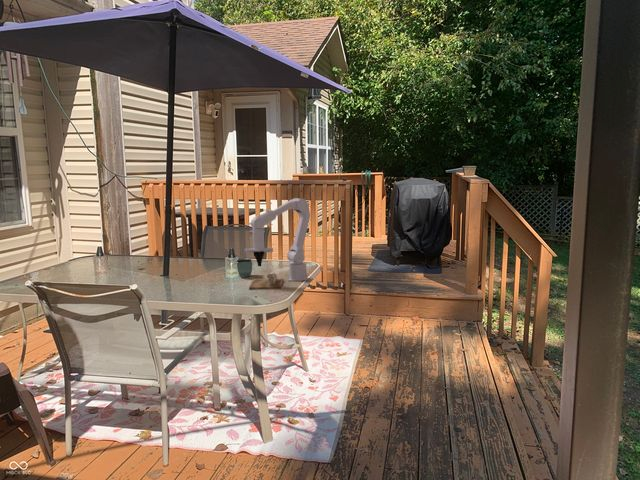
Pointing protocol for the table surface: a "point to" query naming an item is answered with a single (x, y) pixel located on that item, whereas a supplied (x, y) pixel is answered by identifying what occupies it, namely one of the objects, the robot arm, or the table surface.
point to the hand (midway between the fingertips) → (259, 265)
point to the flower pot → (244, 267)
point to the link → (273, 278)
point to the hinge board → (266, 283)
